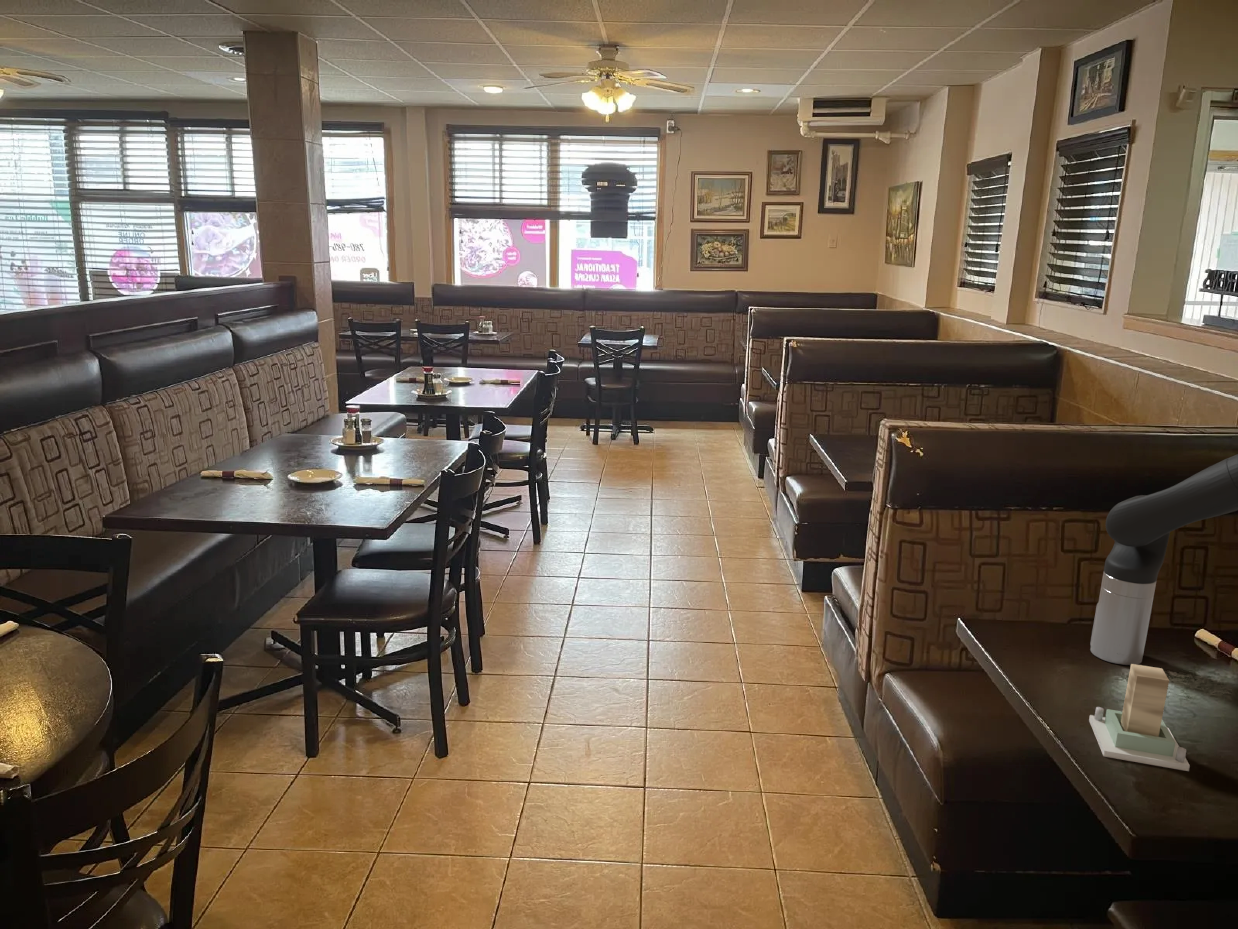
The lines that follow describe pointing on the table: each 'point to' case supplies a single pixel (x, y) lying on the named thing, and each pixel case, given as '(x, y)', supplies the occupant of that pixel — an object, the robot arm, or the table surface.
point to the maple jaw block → (1144, 700)
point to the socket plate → (1136, 742)
